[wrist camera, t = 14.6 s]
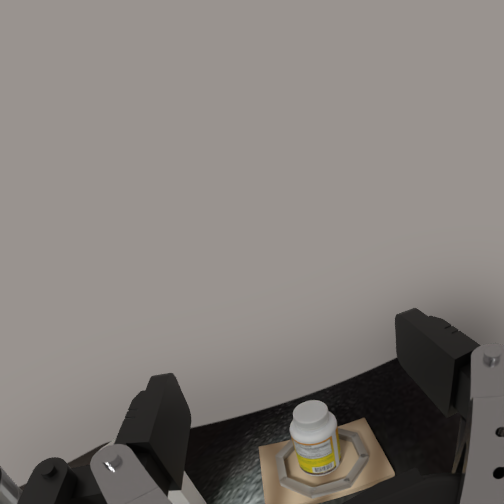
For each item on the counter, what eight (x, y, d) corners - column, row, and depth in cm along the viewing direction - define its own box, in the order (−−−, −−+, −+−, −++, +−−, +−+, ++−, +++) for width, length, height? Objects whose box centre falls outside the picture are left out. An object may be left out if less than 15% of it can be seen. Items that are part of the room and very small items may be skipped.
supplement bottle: (317, 442, 37) (307, 390, 35) (350, 456, 33) (344, 403, 31) (290, 467, 34) (275, 416, 32) (323, 484, 30) (313, 434, 28)
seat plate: (268, 514, 28) (263, 505, 28) (260, 451, 40) (256, 441, 39) (394, 477, 28) (395, 467, 28) (364, 422, 40) (364, 412, 39)
